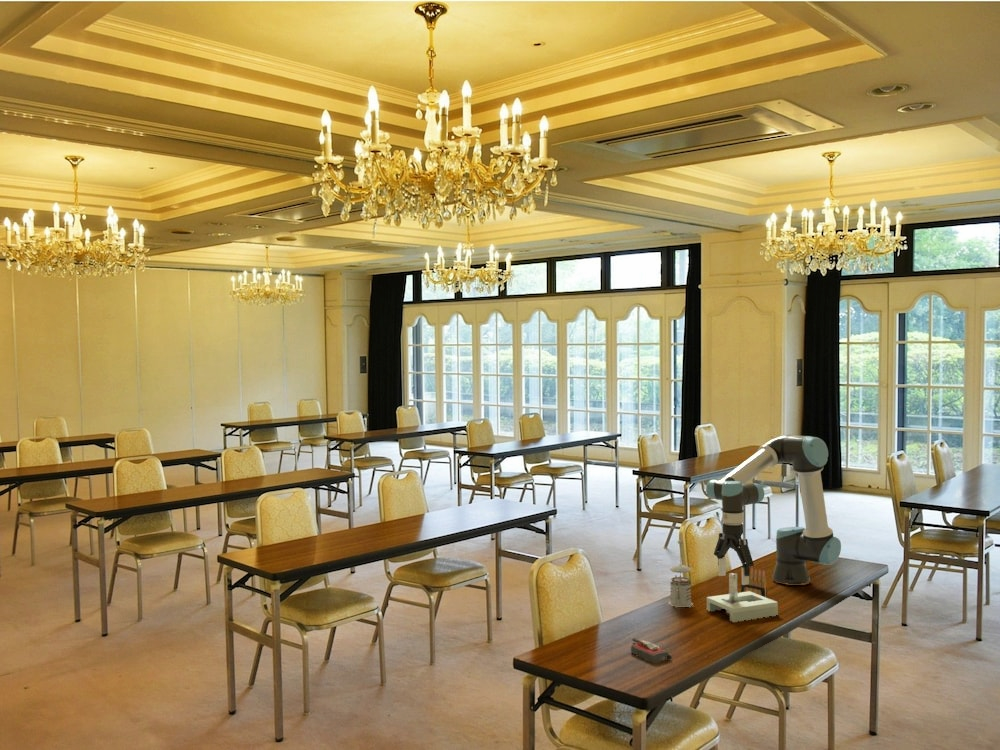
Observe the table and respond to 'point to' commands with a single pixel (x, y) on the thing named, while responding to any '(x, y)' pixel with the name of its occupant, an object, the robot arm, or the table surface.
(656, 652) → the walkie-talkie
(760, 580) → the ammunition clip
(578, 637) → the table surface
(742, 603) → the keyhole board
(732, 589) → the steel peg
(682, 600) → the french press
